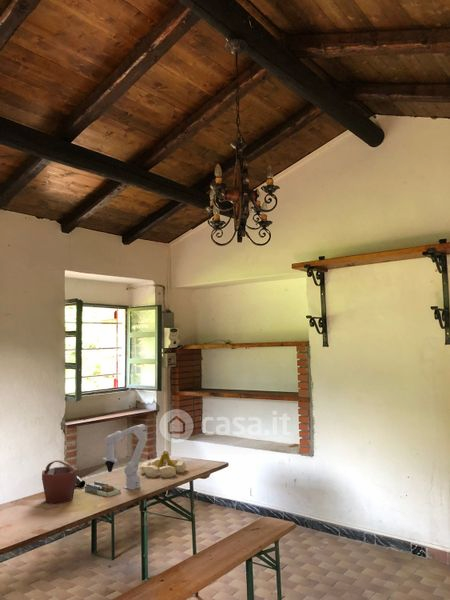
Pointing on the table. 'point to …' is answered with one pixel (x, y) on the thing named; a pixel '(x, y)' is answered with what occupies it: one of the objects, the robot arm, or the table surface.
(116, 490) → the tray
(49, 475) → the bucket
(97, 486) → the rail
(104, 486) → the block
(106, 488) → the block
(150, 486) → the table surface
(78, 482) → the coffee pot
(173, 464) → the campfire
